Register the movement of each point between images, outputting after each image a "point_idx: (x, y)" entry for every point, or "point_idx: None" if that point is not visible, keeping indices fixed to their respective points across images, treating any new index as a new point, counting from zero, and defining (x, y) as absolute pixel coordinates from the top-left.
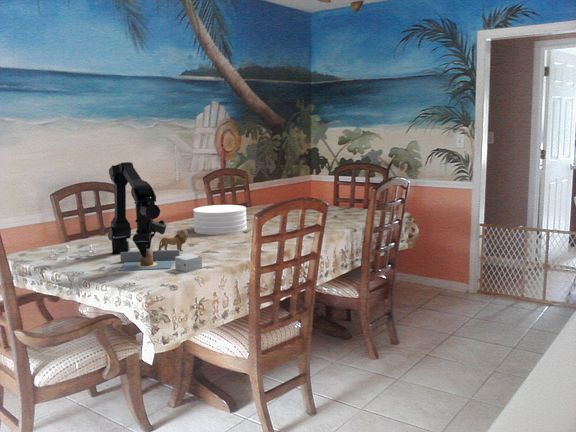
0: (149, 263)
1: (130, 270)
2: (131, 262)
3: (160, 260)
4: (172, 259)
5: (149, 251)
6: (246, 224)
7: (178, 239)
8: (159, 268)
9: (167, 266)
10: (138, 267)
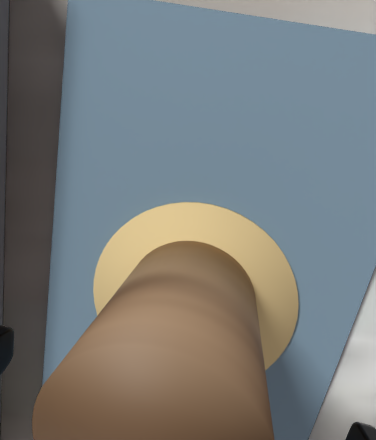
0: (254, 295)
1: (303, 436)
2: None
3: (4, 152)
4: (4, 7)
5: (259, 405)
6: None
7: None
8: None
9: (360, 84)
10: None
